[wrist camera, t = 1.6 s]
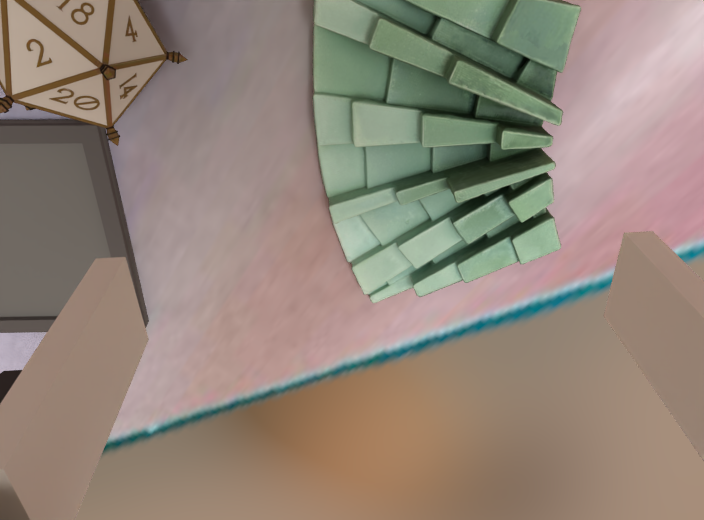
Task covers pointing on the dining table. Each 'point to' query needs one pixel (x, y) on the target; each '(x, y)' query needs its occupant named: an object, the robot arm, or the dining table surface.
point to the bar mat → (55, 218)
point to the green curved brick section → (438, 134)
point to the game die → (78, 57)
